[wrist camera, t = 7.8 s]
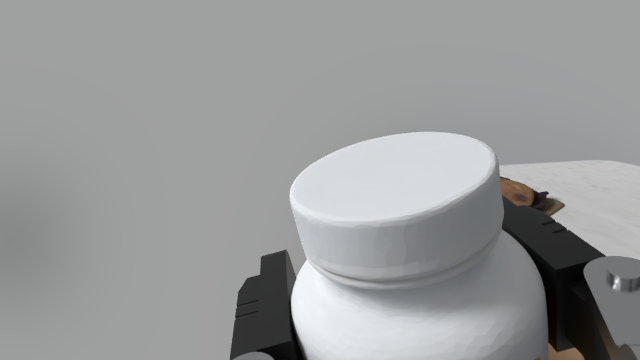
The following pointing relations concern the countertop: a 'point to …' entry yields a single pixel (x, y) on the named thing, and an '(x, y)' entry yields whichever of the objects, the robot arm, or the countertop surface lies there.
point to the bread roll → (528, 196)
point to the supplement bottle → (412, 256)
